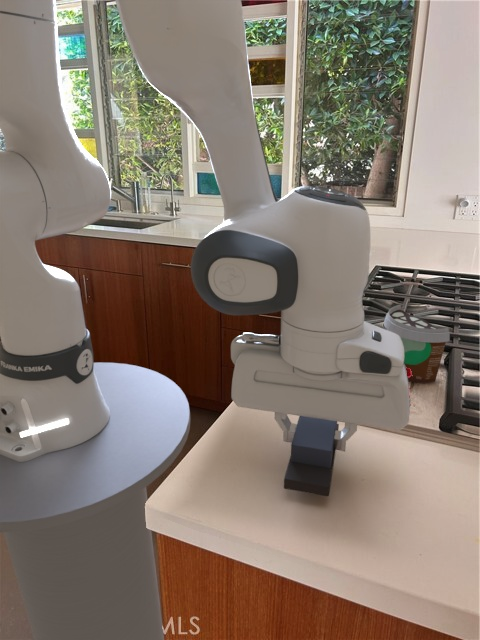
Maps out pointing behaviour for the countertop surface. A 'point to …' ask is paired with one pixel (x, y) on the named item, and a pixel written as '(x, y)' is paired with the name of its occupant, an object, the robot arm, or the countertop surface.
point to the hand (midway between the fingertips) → (314, 443)
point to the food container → (418, 343)
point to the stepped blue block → (311, 456)
